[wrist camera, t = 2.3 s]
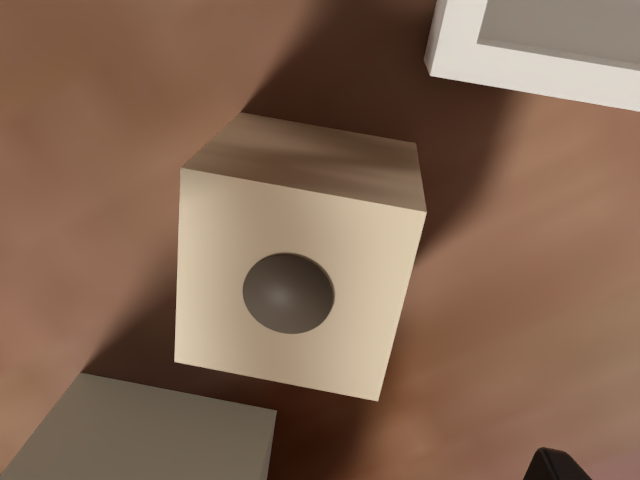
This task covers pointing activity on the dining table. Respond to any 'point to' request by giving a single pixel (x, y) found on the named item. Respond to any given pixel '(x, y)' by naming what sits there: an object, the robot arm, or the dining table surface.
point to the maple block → (296, 253)
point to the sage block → (145, 436)
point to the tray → (541, 47)
